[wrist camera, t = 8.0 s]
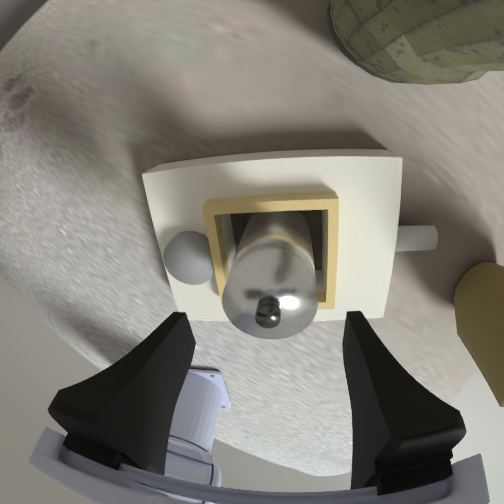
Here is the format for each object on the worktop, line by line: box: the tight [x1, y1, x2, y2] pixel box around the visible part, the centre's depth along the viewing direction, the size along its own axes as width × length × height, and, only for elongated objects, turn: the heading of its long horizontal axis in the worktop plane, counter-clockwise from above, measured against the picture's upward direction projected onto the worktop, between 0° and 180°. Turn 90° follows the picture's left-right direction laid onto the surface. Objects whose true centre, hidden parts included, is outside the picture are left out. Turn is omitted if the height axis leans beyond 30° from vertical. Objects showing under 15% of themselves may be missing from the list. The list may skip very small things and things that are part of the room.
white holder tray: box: [142, 149, 438, 321], centre depth 19 cm, size 20×12×4 cm, turn 96°
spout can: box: [222, 210, 318, 339], centre depth 17 cm, size 5×5×9 cm
